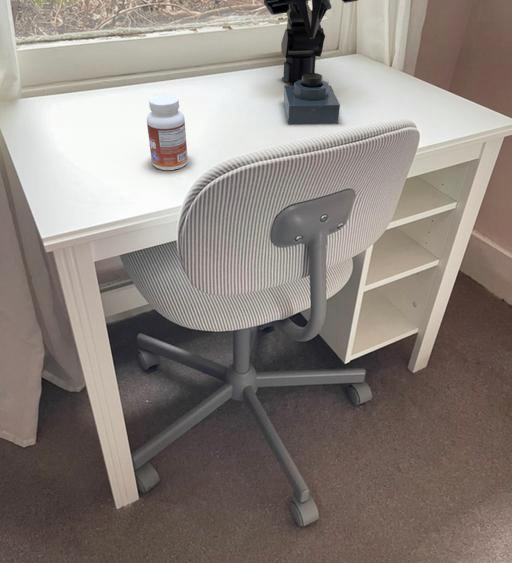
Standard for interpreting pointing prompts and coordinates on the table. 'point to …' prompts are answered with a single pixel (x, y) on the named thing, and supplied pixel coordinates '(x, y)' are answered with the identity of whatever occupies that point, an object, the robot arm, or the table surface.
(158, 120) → the pill bottle
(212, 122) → the table surface
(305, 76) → the black round button
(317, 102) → the push button box
